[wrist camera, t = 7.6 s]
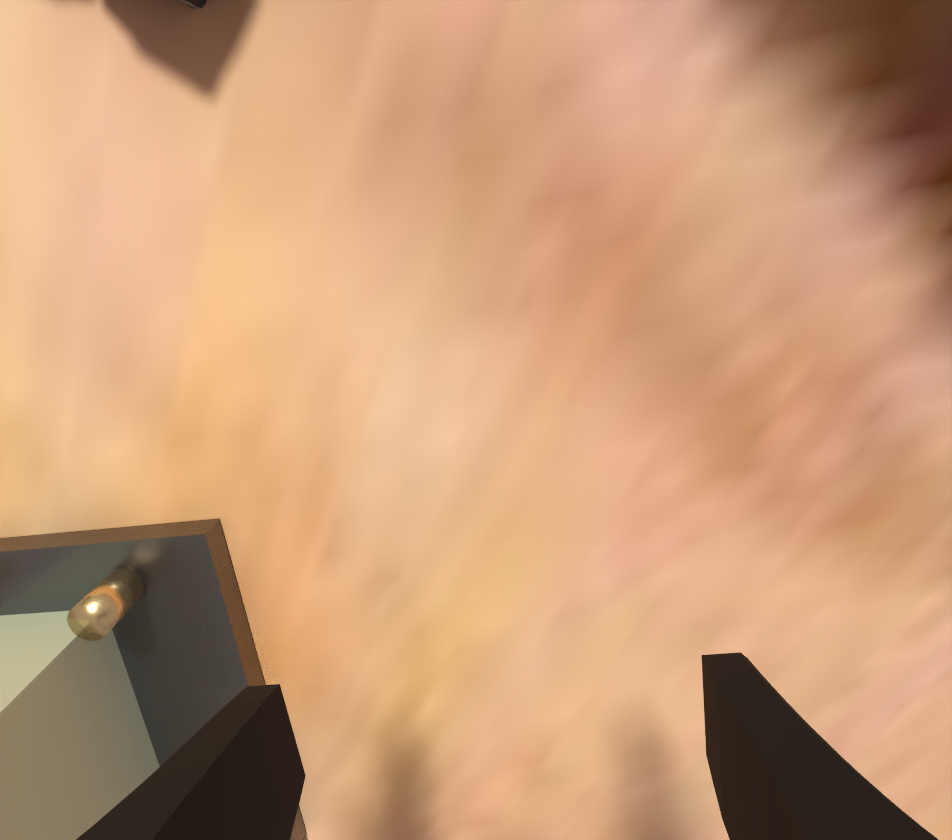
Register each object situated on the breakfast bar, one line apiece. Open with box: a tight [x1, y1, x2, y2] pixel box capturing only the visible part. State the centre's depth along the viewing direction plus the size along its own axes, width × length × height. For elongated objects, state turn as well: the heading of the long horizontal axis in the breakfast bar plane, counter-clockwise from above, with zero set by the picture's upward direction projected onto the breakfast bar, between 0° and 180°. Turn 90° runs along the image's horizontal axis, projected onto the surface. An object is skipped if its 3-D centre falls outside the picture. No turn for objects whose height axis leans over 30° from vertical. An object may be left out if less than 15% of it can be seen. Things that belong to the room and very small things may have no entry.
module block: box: [0, 611, 160, 840], centre depth 21 cm, size 4×8×6 cm, turn 7°
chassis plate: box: [0, 519, 306, 840], centre depth 23 cm, size 13×12×3 cm
